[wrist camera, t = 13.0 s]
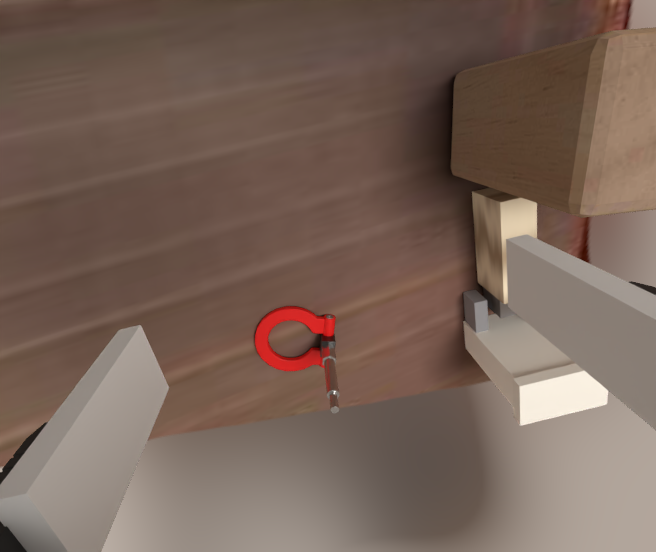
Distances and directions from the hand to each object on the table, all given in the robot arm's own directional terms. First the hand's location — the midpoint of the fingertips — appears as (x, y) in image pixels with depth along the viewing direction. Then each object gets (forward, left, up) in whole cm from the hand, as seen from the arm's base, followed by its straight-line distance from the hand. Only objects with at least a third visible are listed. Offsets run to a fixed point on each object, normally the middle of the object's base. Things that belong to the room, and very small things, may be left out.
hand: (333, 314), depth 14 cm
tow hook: (+17, -5, -29) cm, 34 cm away
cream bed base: (+21, +20, -29) cm, 41 cm away
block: (-2, +21, -29) cm, 36 cm away
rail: (+12, +20, -29) cm, 37 cm away
